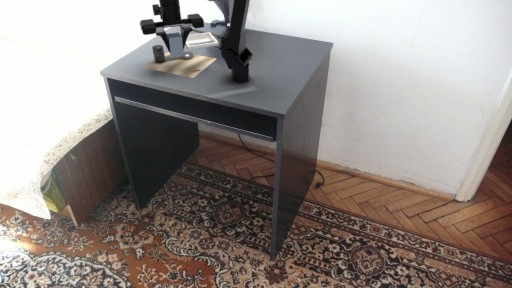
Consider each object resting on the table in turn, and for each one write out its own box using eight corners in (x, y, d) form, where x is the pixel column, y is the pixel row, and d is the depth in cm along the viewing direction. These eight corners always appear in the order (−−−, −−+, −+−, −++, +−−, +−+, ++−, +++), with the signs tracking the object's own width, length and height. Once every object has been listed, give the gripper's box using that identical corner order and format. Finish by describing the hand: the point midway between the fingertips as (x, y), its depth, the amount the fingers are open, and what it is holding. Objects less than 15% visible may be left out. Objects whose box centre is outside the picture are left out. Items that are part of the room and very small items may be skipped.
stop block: (183, 54, 113) (181, 36, 109) (171, 56, 112) (168, 38, 108) (181, 50, 116) (178, 32, 112) (169, 52, 115) (166, 34, 111)
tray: (218, 48, 135) (218, 42, 133) (189, 53, 131) (188, 46, 130) (210, 38, 143) (209, 32, 142) (182, 42, 140) (181, 35, 138)
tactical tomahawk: (229, 36, 148) (229, 34, 147) (220, 40, 143) (220, 37, 142) (191, 26, 156) (191, 23, 156) (181, 29, 151) (180, 26, 151)
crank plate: (217, 62, 125) (216, 58, 124) (193, 82, 113) (193, 77, 112) (171, 53, 130) (170, 49, 129) (144, 71, 119) (144, 67, 118)
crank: (191, 53, 127) (190, 39, 124) (194, 58, 124) (193, 44, 121) (153, 59, 123) (151, 45, 120) (155, 64, 119) (153, 50, 116)
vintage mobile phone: (241, 34, 146) (240, -31, 131) (230, 33, 147) (227, -32, 132) (243, 31, 149) (242, -33, 134) (232, 30, 150) (230, -34, 135)
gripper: (193, -10, 112) (197, 37, 122) (133, -4, 107) (142, 45, 116) (202, -1, 104) (206, 49, 114) (138, 6, 99) (148, 58, 108)
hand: (176, 50), depth 113 cm, fingers closed on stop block, 4 cm apart
